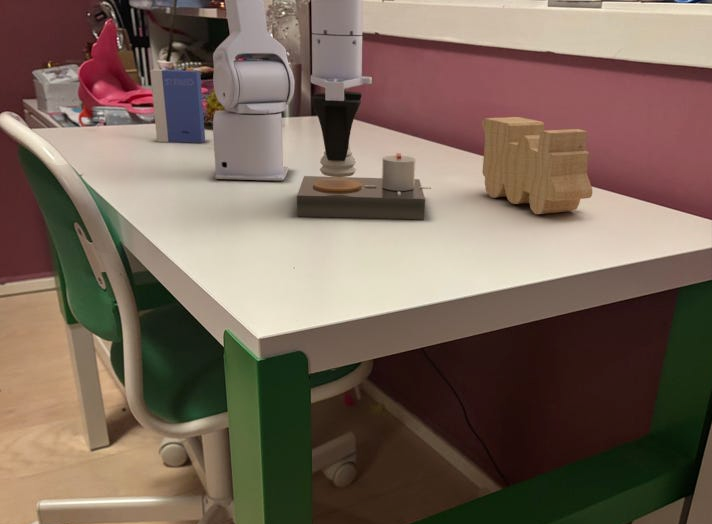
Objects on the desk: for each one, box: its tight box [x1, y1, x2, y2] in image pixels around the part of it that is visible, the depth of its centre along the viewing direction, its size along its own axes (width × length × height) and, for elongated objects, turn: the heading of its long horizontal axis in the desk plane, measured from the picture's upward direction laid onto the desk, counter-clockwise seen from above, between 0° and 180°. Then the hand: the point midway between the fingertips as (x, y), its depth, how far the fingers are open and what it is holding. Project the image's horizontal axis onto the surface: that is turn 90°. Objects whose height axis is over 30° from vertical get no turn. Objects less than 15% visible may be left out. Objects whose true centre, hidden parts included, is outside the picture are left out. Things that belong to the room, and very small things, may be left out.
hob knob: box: [381, 152, 416, 191], centre depth 91 cm, size 4×4×4 cm
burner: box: [313, 179, 362, 192], centre depth 91 cm, size 6×6×1 cm
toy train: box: [481, 116, 593, 215], centre depth 95 cm, size 6×17×10 cm, turn 27°
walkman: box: [149, 67, 206, 144], centre depth 128 cm, size 8×3×12 cm, turn 91°
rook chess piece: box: [319, 144, 357, 177], centre depth 89 cm, size 4×4×8 cm
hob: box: [296, 175, 432, 221], centre depth 92 cm, size 16×11×3 cm
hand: (337, 157), depth 90 cm, fingers closed on rook chess piece, 3 cm apart
